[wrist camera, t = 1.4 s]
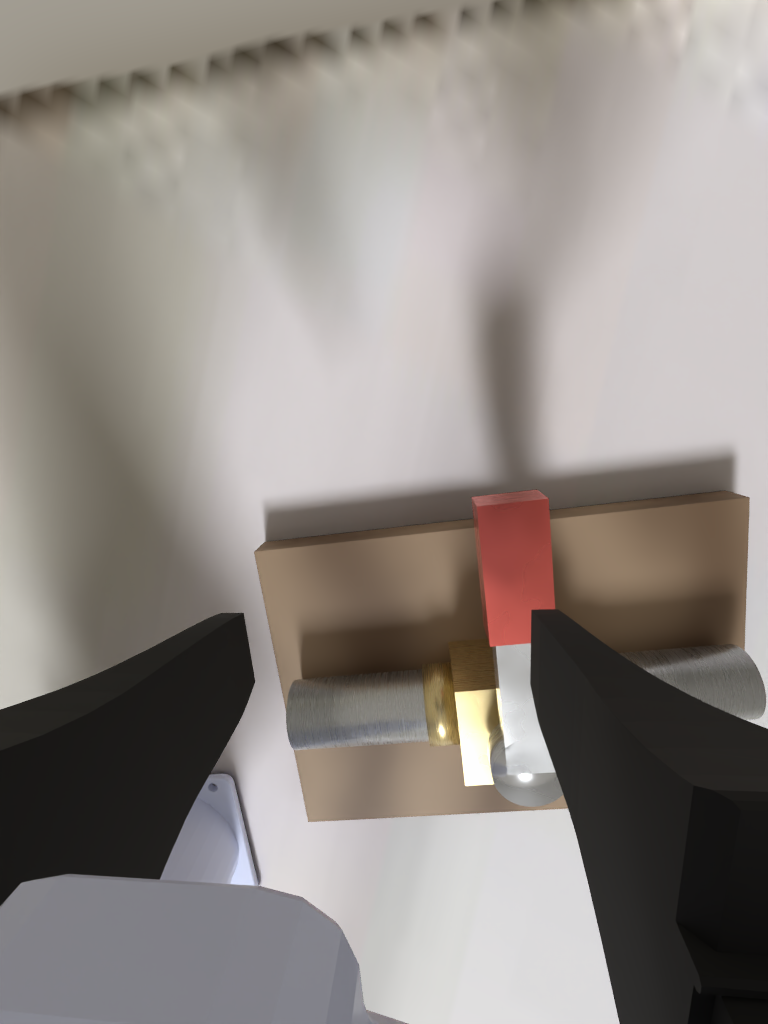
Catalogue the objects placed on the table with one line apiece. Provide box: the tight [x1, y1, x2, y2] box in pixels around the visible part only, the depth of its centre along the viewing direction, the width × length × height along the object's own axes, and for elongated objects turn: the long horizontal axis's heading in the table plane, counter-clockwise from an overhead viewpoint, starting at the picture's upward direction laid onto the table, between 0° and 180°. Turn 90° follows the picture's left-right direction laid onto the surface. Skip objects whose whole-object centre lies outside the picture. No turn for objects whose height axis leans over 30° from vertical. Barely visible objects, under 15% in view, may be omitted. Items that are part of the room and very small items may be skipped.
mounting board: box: [254, 491, 750, 822], centre depth 22 cm, size 20×14×2 cm
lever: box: [472, 489, 563, 807], centre depth 15 cm, size 10×3×2 cm, turn 8°
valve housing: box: [286, 639, 766, 786], centre depth 19 cm, size 18×4×4 cm, turn 98°
